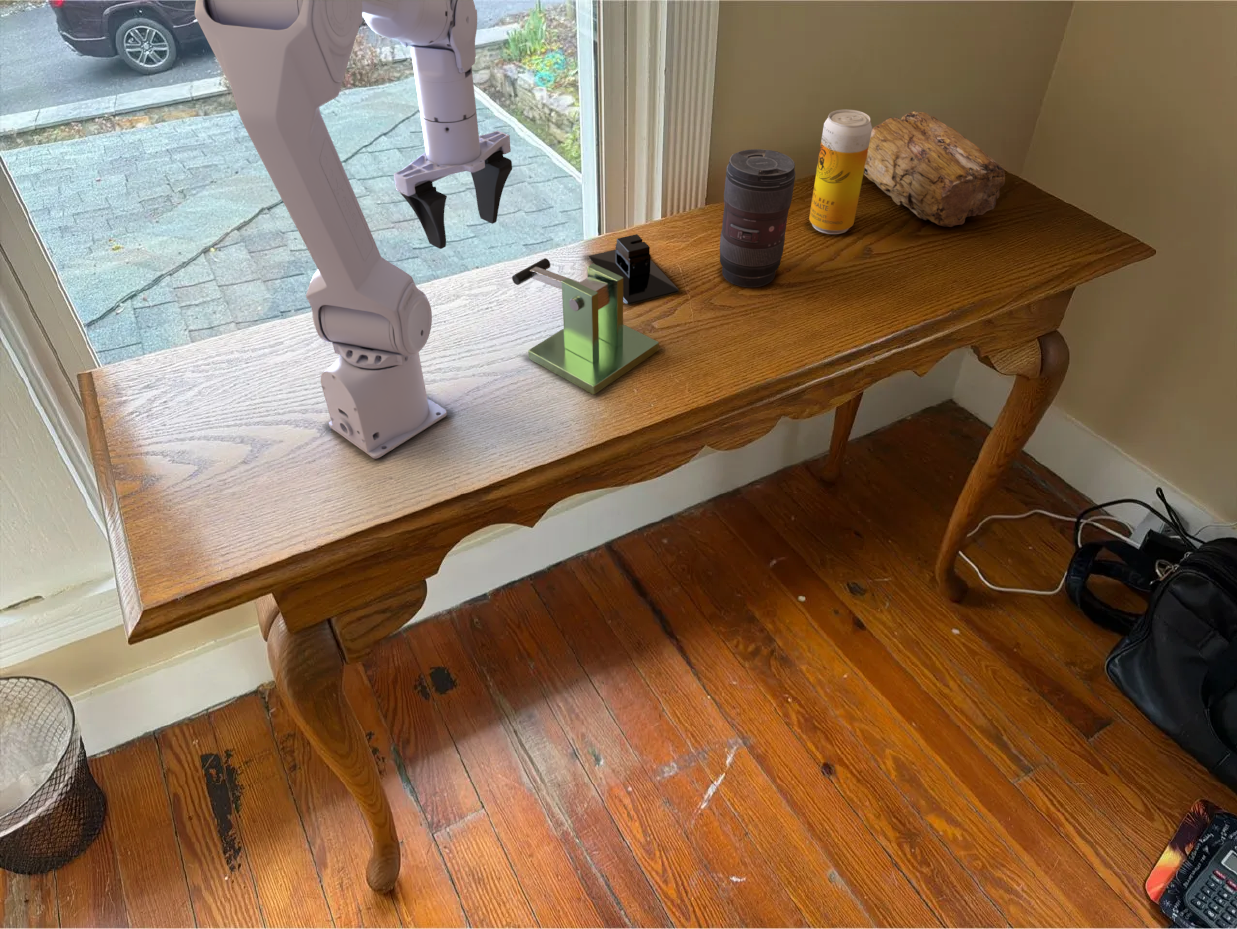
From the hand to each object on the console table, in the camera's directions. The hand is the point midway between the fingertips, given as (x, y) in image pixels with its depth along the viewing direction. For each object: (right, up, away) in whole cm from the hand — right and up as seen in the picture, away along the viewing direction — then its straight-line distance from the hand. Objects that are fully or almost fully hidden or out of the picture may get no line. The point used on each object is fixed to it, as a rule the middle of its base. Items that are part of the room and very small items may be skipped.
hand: (463, 232), depth 102 cm
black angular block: (+19, -2, +13) cm, 24 cm away
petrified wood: (+61, +12, +28) cm, 68 cm away
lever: (+12, -7, -2) cm, 14 cm away
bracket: (+15, -14, +1) cm, 20 cm away
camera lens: (+34, -2, +14) cm, 37 cm away
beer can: (+47, +7, +23) cm, 53 cm away
